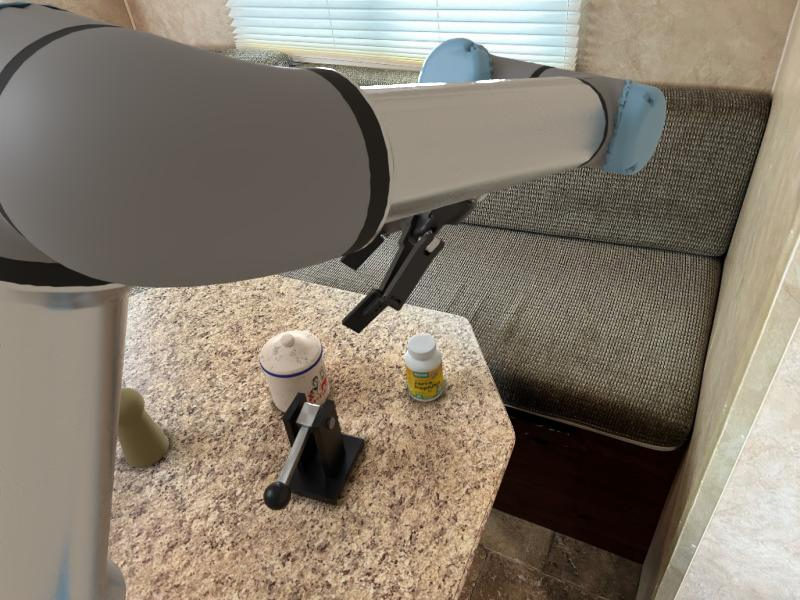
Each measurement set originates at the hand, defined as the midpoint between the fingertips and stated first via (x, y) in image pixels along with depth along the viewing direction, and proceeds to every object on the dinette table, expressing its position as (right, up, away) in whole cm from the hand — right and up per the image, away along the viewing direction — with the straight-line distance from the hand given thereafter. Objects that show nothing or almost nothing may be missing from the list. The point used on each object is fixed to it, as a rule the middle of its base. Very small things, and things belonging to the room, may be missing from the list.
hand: (348, 294), depth 82 cm
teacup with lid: (-8, -14, +11) cm, 20 cm away
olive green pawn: (-29, -22, +4) cm, 37 cm away
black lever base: (-3, -23, 0) cm, 23 cm away
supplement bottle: (+11, -14, +9) cm, 20 cm away
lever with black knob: (-6, -20, -8) cm, 23 cm away
